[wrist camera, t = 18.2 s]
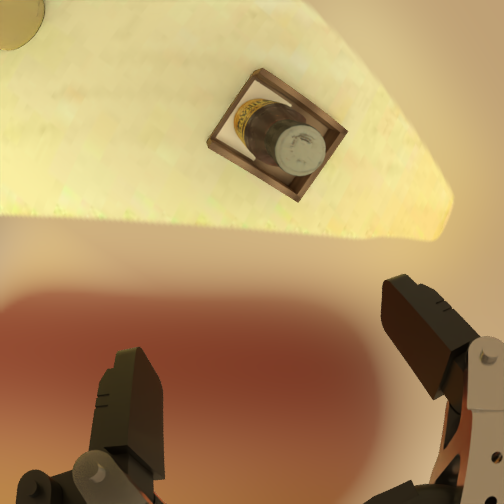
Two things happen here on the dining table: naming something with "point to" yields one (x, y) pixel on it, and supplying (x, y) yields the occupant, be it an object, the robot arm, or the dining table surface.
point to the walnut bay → (235, 151)
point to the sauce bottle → (279, 136)
